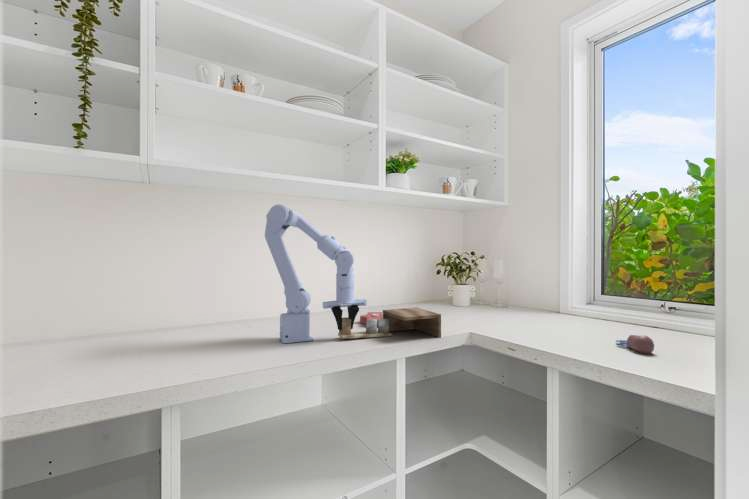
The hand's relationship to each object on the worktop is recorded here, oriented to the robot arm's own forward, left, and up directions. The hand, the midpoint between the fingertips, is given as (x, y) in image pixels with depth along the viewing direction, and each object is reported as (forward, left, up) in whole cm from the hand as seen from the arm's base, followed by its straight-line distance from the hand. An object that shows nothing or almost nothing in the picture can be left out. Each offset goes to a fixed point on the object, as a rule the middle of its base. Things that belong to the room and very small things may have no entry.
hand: (345, 329), depth 111 cm
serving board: (+7, 0, -3) cm, 8 cm away
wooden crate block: (+23, -3, -3) cm, 23 cm away
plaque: (+21, +20, -4) cm, 29 cm away
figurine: (+73, -45, -4) cm, 86 cm away
